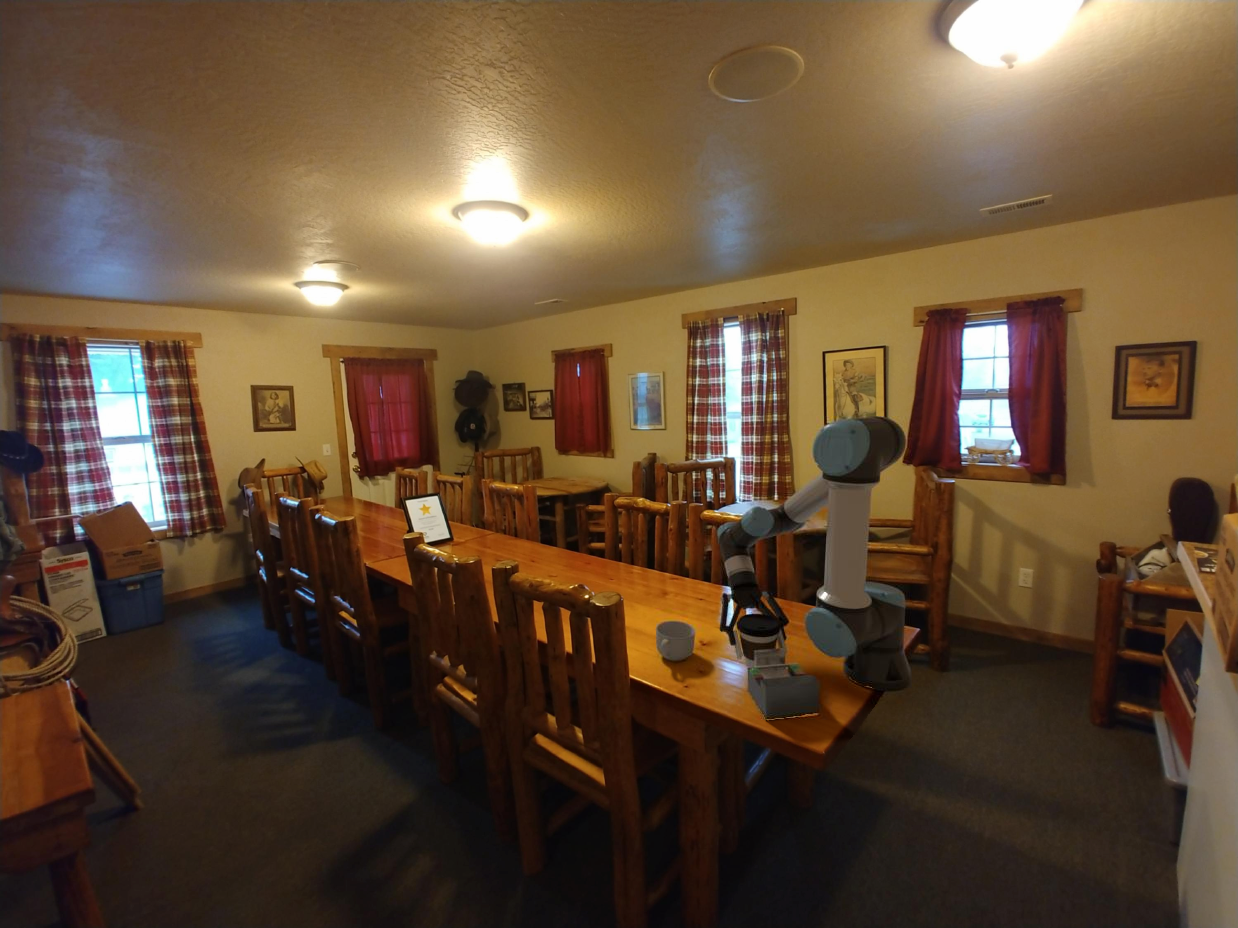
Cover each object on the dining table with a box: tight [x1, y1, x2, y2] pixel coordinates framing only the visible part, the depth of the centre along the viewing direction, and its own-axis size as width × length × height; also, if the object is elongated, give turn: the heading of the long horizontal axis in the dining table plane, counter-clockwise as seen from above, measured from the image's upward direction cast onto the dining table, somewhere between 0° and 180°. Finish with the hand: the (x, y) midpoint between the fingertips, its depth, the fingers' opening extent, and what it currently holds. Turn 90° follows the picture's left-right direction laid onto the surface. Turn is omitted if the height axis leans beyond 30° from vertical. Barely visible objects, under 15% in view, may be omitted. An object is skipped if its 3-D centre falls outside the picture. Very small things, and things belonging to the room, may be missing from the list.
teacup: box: [655, 620, 696, 662], centre depth 140 cm, size 14×11×8 cm
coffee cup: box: [736, 613, 780, 669], centre depth 131 cm, size 11×11×12 cm
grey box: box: [747, 664, 820, 720], centre depth 117 cm, size 12×12×8 cm
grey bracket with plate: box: [752, 647, 799, 679], centre depth 122 cm, size 6×11×8 cm, turn 95°
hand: (762, 655), depth 129 cm, fingers closed on coffee cup, 11 cm apart
